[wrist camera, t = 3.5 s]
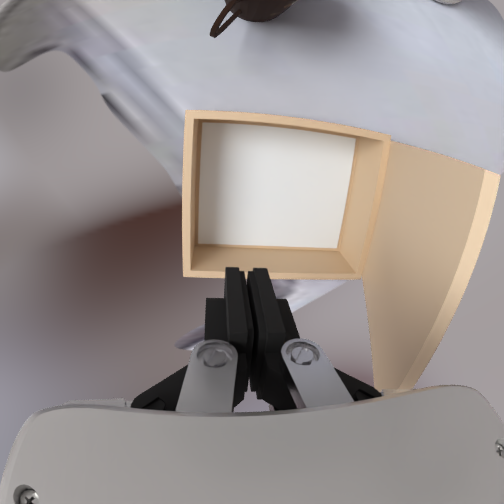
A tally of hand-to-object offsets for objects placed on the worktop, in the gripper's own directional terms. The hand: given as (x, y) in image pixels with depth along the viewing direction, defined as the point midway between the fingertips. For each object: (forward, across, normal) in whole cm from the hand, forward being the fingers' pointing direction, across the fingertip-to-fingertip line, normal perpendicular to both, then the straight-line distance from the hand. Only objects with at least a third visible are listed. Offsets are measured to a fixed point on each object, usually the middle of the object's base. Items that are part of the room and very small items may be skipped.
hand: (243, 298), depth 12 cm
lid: (+6, -11, 0) cm, 12 cm away
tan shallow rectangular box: (+20, -5, 0) cm, 21 cm away
